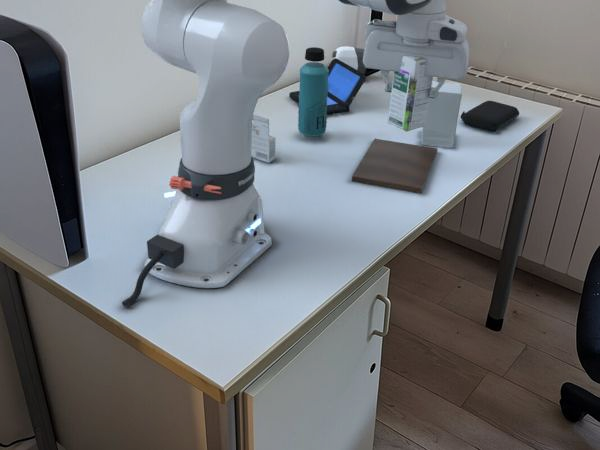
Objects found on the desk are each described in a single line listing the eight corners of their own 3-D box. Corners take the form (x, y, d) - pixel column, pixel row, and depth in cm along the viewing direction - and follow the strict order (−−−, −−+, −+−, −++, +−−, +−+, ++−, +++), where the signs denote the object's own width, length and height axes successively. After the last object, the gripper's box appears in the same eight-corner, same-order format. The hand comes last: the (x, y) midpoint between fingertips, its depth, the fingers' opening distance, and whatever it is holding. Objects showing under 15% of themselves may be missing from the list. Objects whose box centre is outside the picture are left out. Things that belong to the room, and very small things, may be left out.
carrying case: (480, 107, 172) (453, 123, 162) (482, 96, 171) (455, 111, 161) (520, 118, 167) (494, 135, 157) (523, 106, 165) (497, 123, 155)
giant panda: (331, 81, 186) (333, 46, 181) (329, 75, 190) (331, 41, 185) (384, 82, 187) (387, 47, 182) (381, 75, 191) (384, 42, 186)
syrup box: (386, 123, 138) (394, 52, 131) (407, 117, 141) (416, 48, 134) (406, 132, 134) (415, 60, 127) (427, 126, 137) (437, 55, 130)
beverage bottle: (316, 145, 149) (320, 55, 139) (291, 137, 152) (293, 49, 142) (331, 135, 154) (336, 48, 143) (307, 128, 157) (310, 42, 147)
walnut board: (421, 193, 131) (422, 188, 130) (351, 181, 135) (352, 176, 134) (437, 153, 147) (437, 148, 147) (374, 143, 151) (374, 138, 150)
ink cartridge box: (234, 146, 147) (233, 103, 142) (275, 159, 142) (276, 116, 137) (227, 150, 145) (226, 106, 140) (268, 163, 140) (269, 119, 135)
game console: (287, 97, 174) (287, 63, 169) (332, 90, 180) (334, 56, 175) (316, 118, 162) (318, 82, 158) (364, 110, 168) (367, 74, 163)
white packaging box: (453, 148, 150) (462, 94, 143) (419, 145, 151) (427, 90, 144) (453, 135, 156) (462, 82, 149) (421, 132, 157) (428, 79, 151)
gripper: (361, 22, 128) (356, 92, 135) (472, 34, 122) (460, 107, 129) (369, 14, 133) (363, 82, 140) (475, 26, 127) (464, 96, 135)
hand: (411, 94), depth 135 cm, fingers closed on syrup box, 7 cm apart
